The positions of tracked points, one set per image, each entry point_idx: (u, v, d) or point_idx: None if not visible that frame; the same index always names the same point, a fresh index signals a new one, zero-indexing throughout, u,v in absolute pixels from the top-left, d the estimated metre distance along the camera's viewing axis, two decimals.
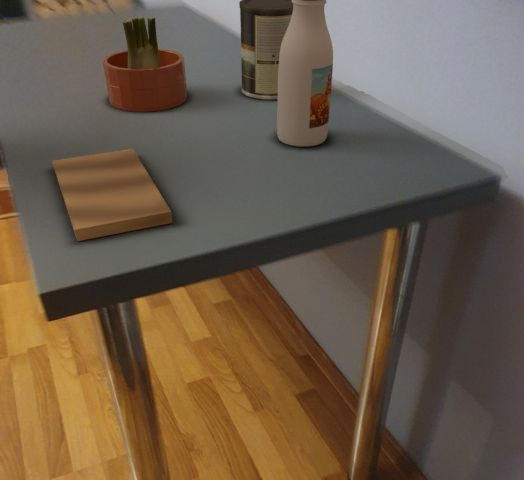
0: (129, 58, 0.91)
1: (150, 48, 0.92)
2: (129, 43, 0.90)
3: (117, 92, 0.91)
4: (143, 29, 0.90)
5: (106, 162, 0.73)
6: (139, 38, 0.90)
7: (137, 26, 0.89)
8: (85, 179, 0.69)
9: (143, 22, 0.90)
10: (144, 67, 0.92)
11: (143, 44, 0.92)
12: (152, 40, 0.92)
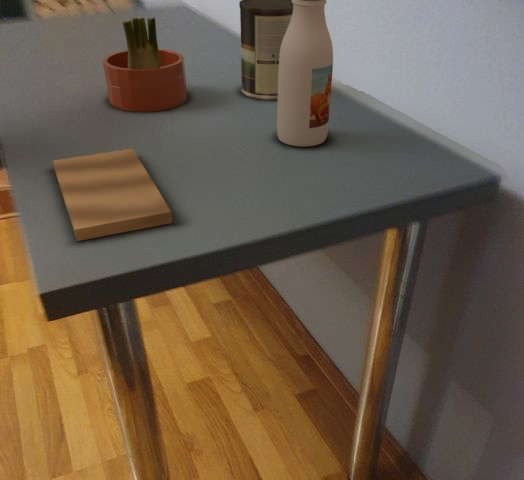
0: (129, 58, 0.91)
1: (150, 48, 0.92)
2: (129, 43, 0.90)
3: (117, 92, 0.91)
4: (143, 29, 0.90)
5: (106, 162, 0.73)
6: (139, 38, 0.90)
7: (137, 26, 0.89)
8: (85, 179, 0.69)
9: (143, 22, 0.90)
10: (144, 67, 0.92)
11: (143, 44, 0.92)
12: (152, 40, 0.92)
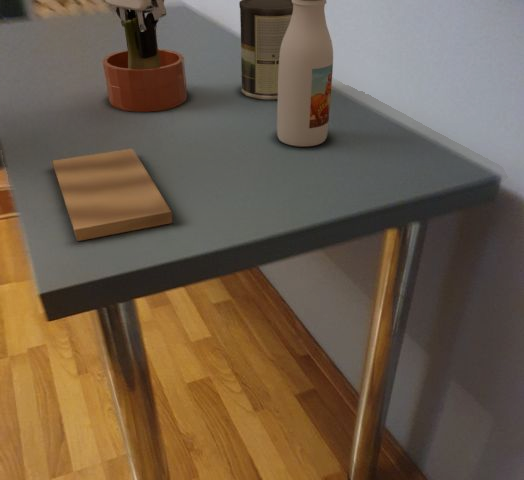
0: (130, 58, 0.91)
1: None
2: (130, 43, 0.90)
3: (117, 92, 0.91)
4: None
5: (106, 162, 0.73)
6: None
7: (138, 26, 0.89)
8: (85, 179, 0.69)
9: None
10: (145, 67, 0.92)
11: None
12: None
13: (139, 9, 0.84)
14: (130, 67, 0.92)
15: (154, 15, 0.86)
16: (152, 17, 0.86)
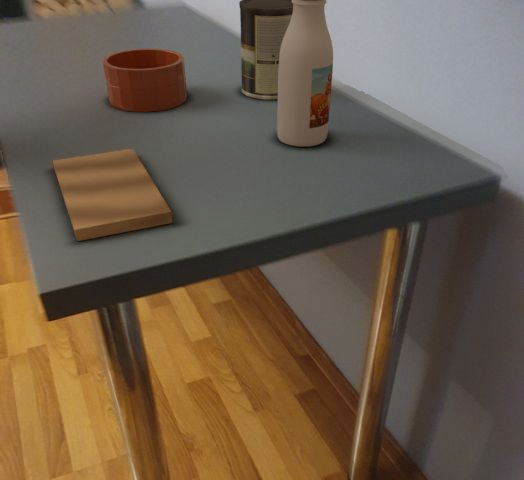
0: None
1: None
2: None
3: (117, 92, 0.91)
4: None
5: (106, 162, 0.73)
6: None
7: None
8: (85, 179, 0.69)
9: None
10: None
11: None
12: None
13: None
14: None
15: None
16: None
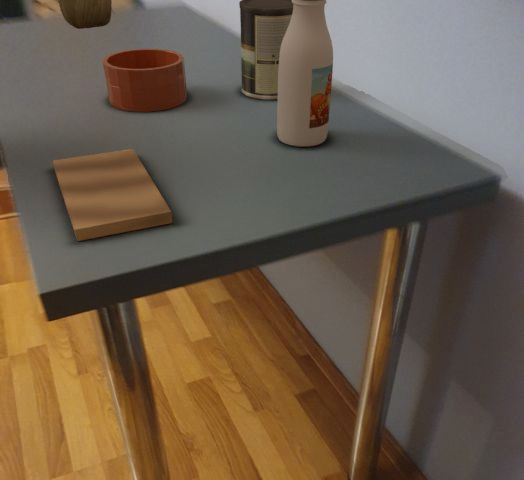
0: None
1: None
2: None
3: (117, 92, 0.91)
4: None
5: (106, 162, 0.73)
6: None
7: None
8: (85, 179, 0.69)
9: None
10: None
11: None
12: None
13: None
14: None
15: None
16: None
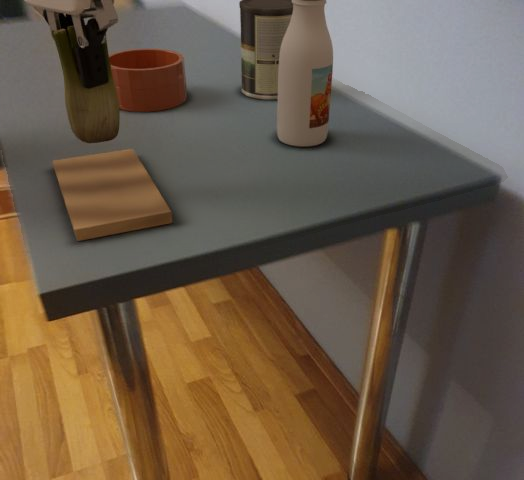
0: (66, 88, 0.59)
1: None
2: (65, 65, 0.57)
3: (117, 92, 0.91)
4: None
5: (106, 162, 0.73)
6: None
7: (76, 38, 0.57)
8: (85, 179, 0.69)
9: None
10: (91, 101, 0.60)
11: None
12: None
13: (73, 12, 0.52)
14: (68, 101, 0.60)
15: (98, 22, 0.53)
16: (96, 25, 0.54)
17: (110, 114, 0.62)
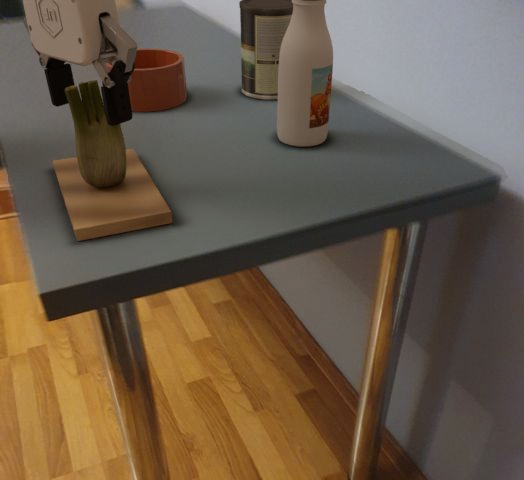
0: (77, 138, 0.63)
1: None
2: (76, 118, 0.61)
3: None
4: (96, 96, 0.61)
5: None
6: (91, 110, 0.62)
7: (87, 94, 0.60)
8: None
9: (96, 87, 0.61)
10: (100, 149, 0.64)
11: (97, 117, 0.63)
12: None
13: (82, 64, 0.55)
14: (78, 150, 0.63)
15: (122, 57, 0.54)
16: (121, 63, 0.54)
17: (118, 161, 0.65)
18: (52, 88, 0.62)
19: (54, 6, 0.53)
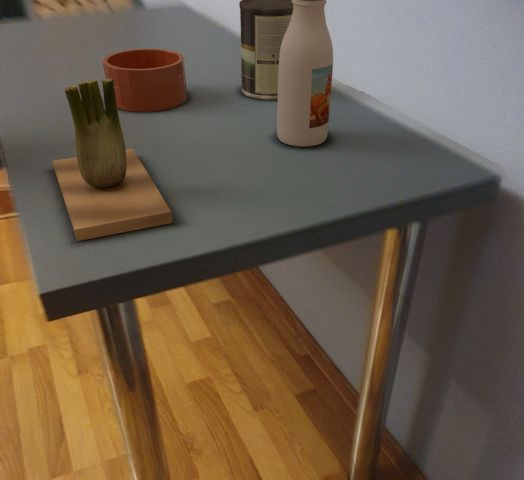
0: (77, 138, 0.63)
1: (107, 123, 0.64)
2: (76, 118, 0.61)
3: (117, 92, 0.91)
4: (96, 96, 0.61)
5: None
6: (91, 110, 0.62)
7: (87, 94, 0.60)
8: None
9: (96, 87, 0.61)
10: (100, 149, 0.64)
11: (97, 117, 0.63)
12: (110, 111, 0.63)
13: None
14: (78, 150, 0.63)
15: None
16: None
17: (118, 161, 0.65)
18: None
19: None
